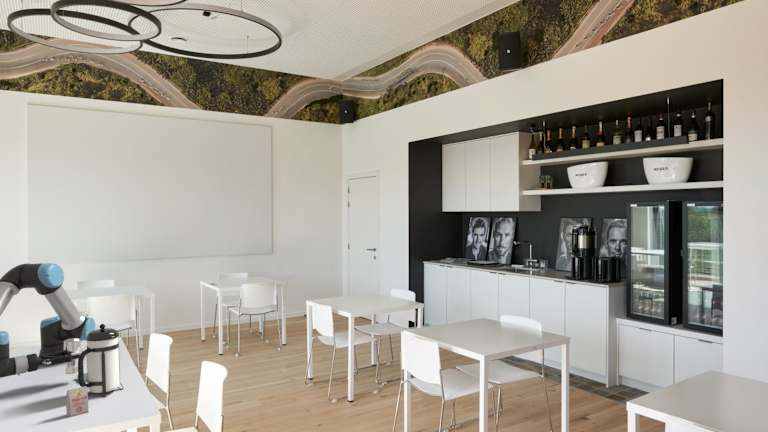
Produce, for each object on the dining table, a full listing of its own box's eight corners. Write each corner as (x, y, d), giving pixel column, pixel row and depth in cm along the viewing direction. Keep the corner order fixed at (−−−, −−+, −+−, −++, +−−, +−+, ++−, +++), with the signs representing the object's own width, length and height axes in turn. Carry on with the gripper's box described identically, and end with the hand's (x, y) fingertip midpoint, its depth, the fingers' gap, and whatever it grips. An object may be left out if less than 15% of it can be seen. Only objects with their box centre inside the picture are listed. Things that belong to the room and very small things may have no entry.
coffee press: (84, 389, 232) (82, 322, 232) (124, 384, 238) (122, 318, 238) (78, 403, 216) (76, 331, 216) (122, 396, 222) (119, 326, 222)
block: (83, 379, 241) (101, 374, 247) (77, 374, 247) (96, 370, 253) (83, 384, 241) (102, 379, 247) (77, 379, 247) (96, 375, 253)
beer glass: (85, 370, 244) (84, 338, 244) (71, 375, 238) (71, 342, 237) (74, 369, 246) (73, 337, 246) (60, 373, 240) (59, 341, 240)
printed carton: (66, 414, 204) (65, 389, 204) (85, 409, 209) (85, 385, 208) (69, 417, 201) (68, 391, 201) (88, 412, 206) (87, 387, 206)
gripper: (22, 367, 236) (79, 356, 252) (31, 377, 222) (91, 364, 239) (21, 351, 236) (78, 341, 252) (30, 359, 222) (90, 348, 238)
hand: (84, 352), depth 245 cm, fingers closed on beer glass, 7 cm apart
